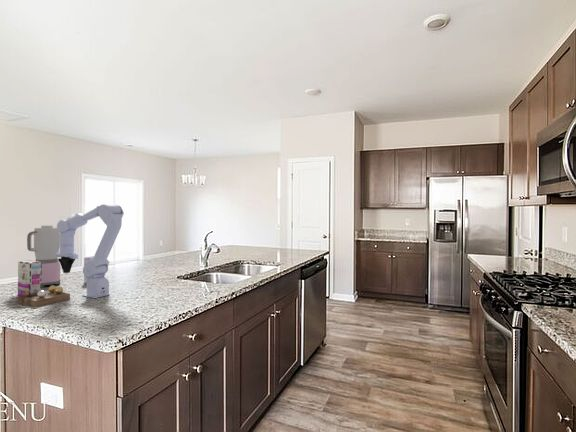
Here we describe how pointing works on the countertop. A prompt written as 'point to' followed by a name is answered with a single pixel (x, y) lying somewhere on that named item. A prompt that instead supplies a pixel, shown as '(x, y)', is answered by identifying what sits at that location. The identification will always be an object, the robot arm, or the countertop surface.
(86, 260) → the syrup box
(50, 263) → the blender
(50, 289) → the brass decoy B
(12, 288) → the countertop surface
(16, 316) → the countertop surface
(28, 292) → the candy bar box
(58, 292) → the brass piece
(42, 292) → the steel ball
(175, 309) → the countertop surface
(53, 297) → the brown square tray
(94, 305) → the countertop surface
